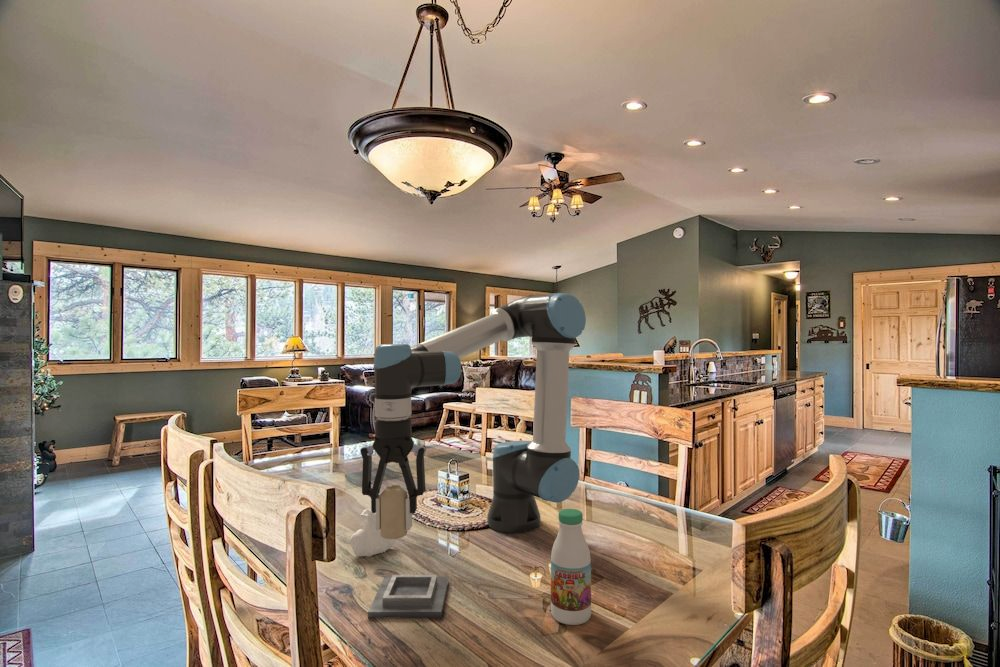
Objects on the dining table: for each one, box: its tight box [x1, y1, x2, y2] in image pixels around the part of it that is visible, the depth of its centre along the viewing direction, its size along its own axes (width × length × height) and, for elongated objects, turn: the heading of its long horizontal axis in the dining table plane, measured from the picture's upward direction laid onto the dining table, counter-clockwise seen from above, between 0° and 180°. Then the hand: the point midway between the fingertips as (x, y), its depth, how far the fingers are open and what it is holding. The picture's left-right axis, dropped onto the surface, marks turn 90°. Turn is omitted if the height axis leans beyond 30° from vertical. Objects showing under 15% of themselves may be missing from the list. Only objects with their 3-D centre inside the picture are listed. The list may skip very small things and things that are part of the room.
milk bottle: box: [550, 508, 592, 626], centre depth 100 cm, size 8×8×20 cm
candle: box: [379, 484, 408, 539], centre depth 108 cm, size 6×6×10 cm
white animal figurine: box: [348, 507, 397, 558], centre depth 129 cm, size 12×8×11 cm
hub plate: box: [367, 574, 450, 619], centre depth 106 cm, size 14×14×3 cm
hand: (394, 527), depth 108 cm, fingers closed on candle, 5 cm apart
